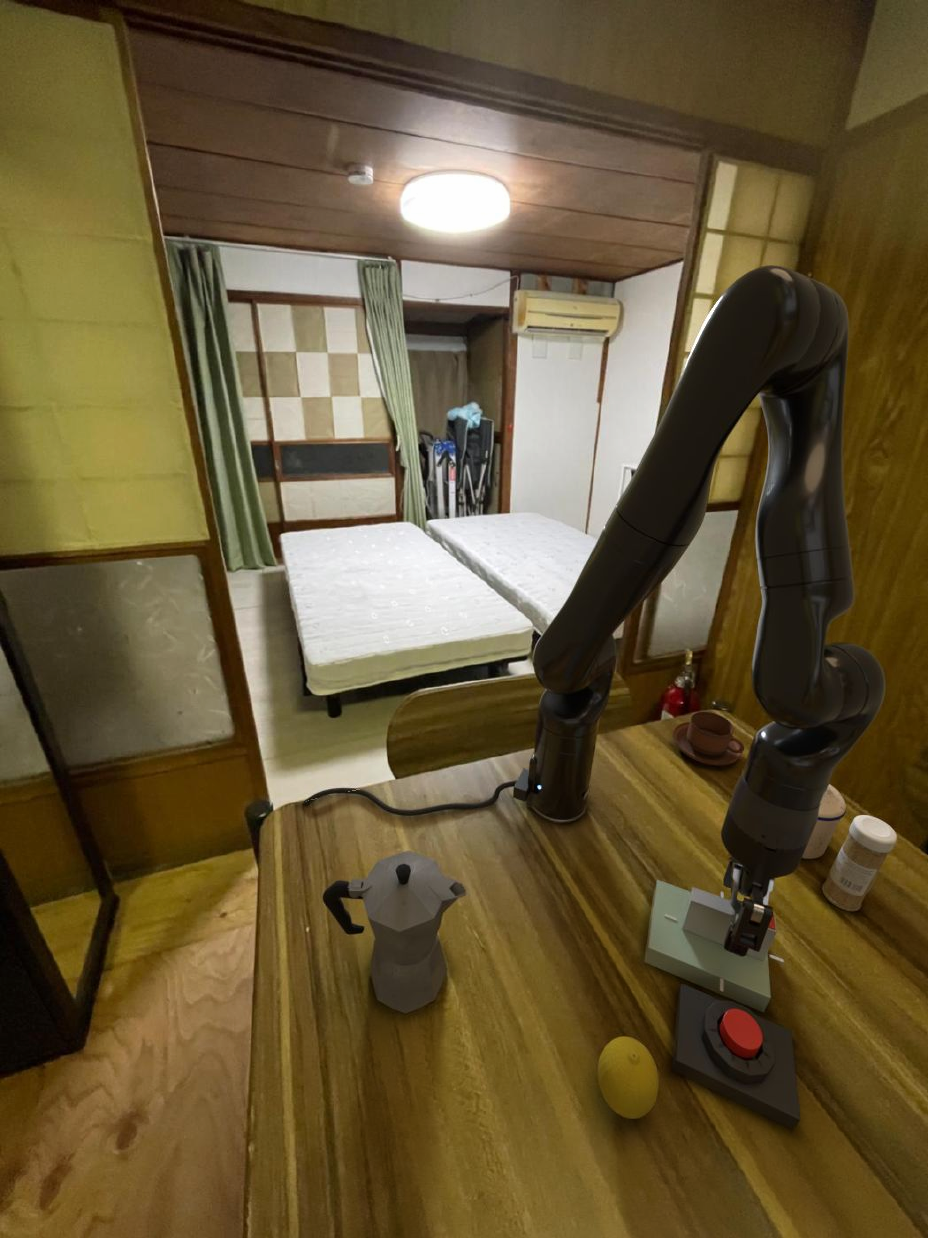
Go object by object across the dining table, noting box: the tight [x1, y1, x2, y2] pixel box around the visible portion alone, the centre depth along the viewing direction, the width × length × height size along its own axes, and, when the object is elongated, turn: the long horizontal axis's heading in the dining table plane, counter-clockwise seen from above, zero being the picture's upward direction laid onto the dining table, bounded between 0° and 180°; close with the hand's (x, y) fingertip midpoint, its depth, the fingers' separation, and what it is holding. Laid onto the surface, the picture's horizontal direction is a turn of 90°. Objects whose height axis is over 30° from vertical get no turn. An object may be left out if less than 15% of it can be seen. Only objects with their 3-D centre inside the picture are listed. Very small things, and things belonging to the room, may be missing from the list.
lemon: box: [597, 1035, 660, 1120], centre depth 49 cm, size 6×6×8 cm
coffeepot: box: [322, 850, 467, 1014], centre depth 57 cm, size 15×9×18 cm, turn 90°
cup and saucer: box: [672, 711, 745, 767], centre depth 96 cm, size 12×12×6 cm
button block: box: [671, 983, 801, 1131], centre depth 53 cm, size 11×8×4 cm
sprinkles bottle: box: [821, 814, 898, 912], centre depth 68 cm, size 5×5×14 cm
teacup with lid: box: [801, 783, 847, 860], centre depth 77 cm, size 12×9×12 cm
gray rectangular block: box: [682, 886, 778, 961], centre depth 61 cm, size 9×2×6 cm, turn 65°
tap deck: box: [643, 879, 785, 1013], centre depth 63 cm, size 15×13×3 cm
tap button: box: [720, 1009, 763, 1058], centre depth 52 cm, size 4×4×2 cm
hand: (733, 917), depth 61 cm, fingers open, 8 cm apart
